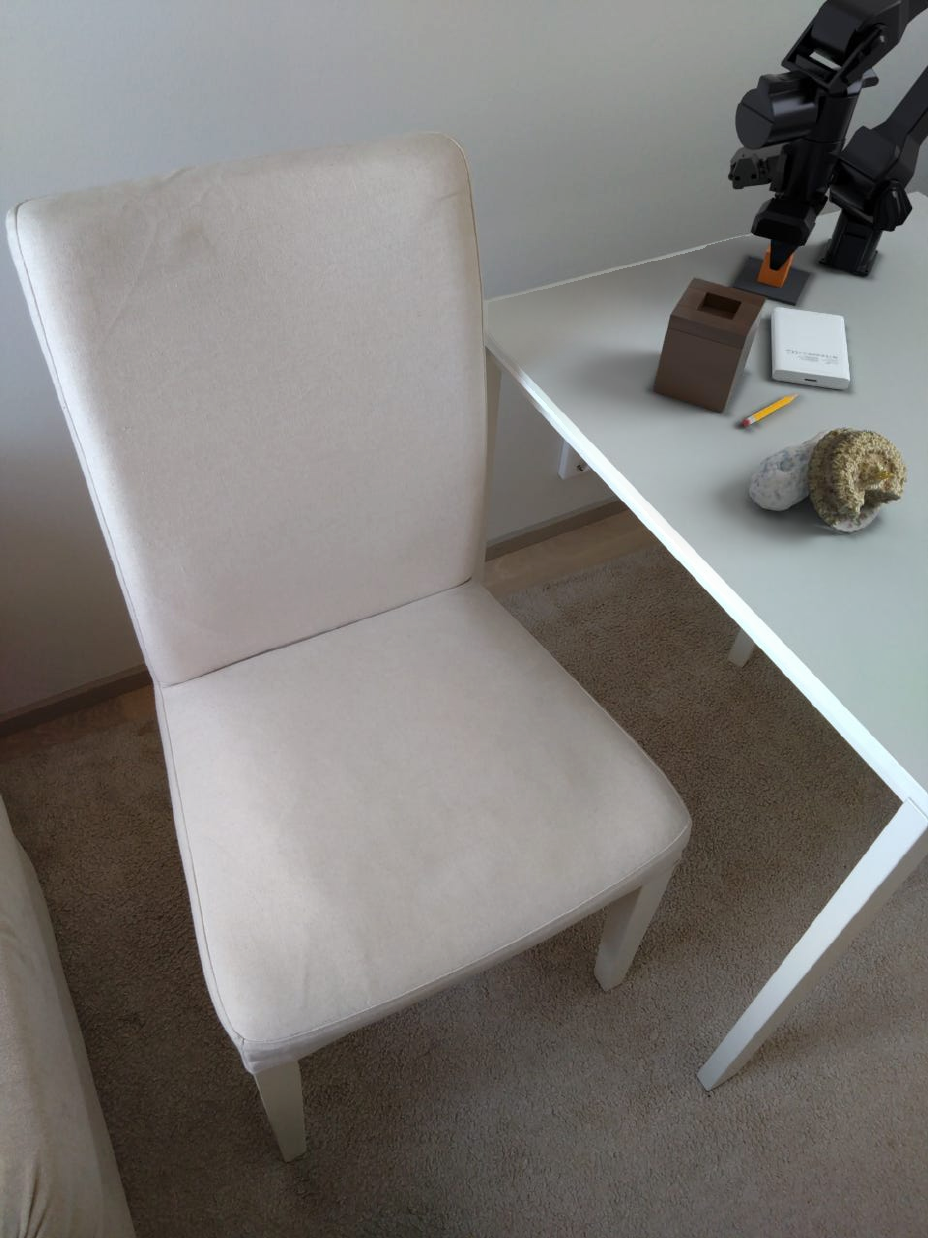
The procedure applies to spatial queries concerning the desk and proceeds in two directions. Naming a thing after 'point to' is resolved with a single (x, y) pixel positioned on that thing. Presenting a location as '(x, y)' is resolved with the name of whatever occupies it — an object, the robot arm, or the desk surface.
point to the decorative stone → (784, 476)
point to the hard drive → (809, 348)
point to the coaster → (785, 294)
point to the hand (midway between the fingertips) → (777, 262)
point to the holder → (708, 343)
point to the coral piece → (854, 477)
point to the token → (773, 271)
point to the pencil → (768, 410)
